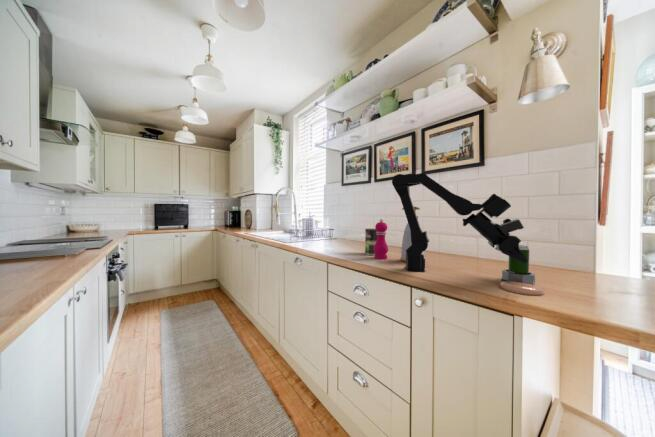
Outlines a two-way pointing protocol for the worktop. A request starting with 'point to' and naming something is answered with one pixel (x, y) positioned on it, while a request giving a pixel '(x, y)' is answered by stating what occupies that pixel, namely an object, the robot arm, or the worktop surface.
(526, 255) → the beer can
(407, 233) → the soap bottle
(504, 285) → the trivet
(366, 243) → the coffee can
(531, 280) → the collar
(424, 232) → the robot arm
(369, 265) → the worktop surface
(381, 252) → the pepper mill
